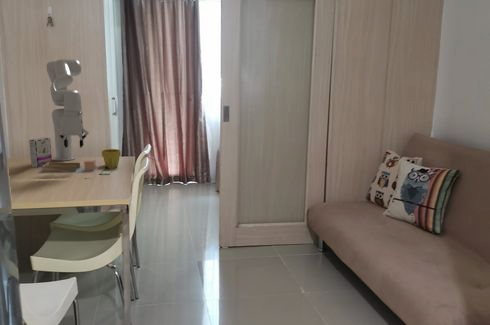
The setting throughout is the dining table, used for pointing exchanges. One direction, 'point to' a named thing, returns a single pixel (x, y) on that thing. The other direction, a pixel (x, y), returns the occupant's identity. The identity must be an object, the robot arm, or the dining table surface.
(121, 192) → the dining table surface
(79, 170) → the deck
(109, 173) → the pad
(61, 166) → the frame
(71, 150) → the robot arm
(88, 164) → the cube
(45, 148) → the candy bar box
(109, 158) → the plant pot
